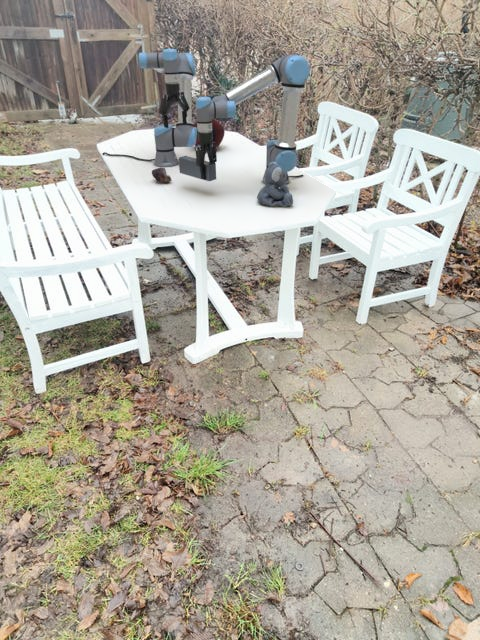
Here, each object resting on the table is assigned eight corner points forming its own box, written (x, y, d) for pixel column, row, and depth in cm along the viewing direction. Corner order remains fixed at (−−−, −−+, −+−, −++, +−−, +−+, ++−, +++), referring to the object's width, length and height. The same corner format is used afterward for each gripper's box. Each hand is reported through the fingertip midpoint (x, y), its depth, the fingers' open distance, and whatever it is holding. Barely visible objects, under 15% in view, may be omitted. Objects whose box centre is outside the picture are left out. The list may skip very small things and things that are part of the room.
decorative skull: (189, 124, 329) (187, 120, 305) (221, 116, 328) (220, 113, 305) (196, 154, 336) (194, 153, 312) (227, 147, 335) (227, 145, 311)
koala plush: (294, 207, 227) (296, 168, 215) (258, 208, 226) (259, 169, 214) (288, 196, 241) (290, 158, 230) (255, 197, 240) (255, 159, 229)
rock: (166, 180, 269) (150, 182, 265) (164, 165, 265) (148, 167, 261) (173, 182, 260) (156, 184, 256) (171, 166, 256) (154, 169, 252)
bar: (179, 173, 249) (178, 157, 244) (186, 170, 252) (185, 155, 247) (209, 181, 235) (208, 165, 231) (216, 179, 238) (215, 163, 234)
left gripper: (158, 86, 229) (162, 130, 241) (194, 81, 244) (196, 123, 256) (149, 84, 233) (153, 128, 245) (185, 80, 248) (187, 121, 260)
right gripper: (196, 135, 218) (199, 183, 231) (223, 129, 229) (224, 175, 242) (186, 133, 222) (190, 180, 235) (212, 127, 233) (214, 172, 246)
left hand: (175, 125), depth 251 cm, fingers open, 13 cm apart
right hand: (207, 177), depth 239 cm, fingers closed on bar, 5 cm apart
